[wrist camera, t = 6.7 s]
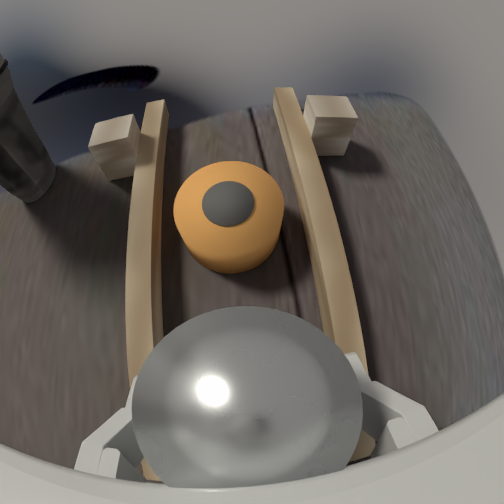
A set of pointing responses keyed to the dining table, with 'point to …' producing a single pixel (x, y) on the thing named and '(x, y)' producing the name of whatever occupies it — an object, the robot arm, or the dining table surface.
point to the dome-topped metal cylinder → (246, 401)
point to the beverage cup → (21, 146)
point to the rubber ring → (229, 216)
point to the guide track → (309, 200)
